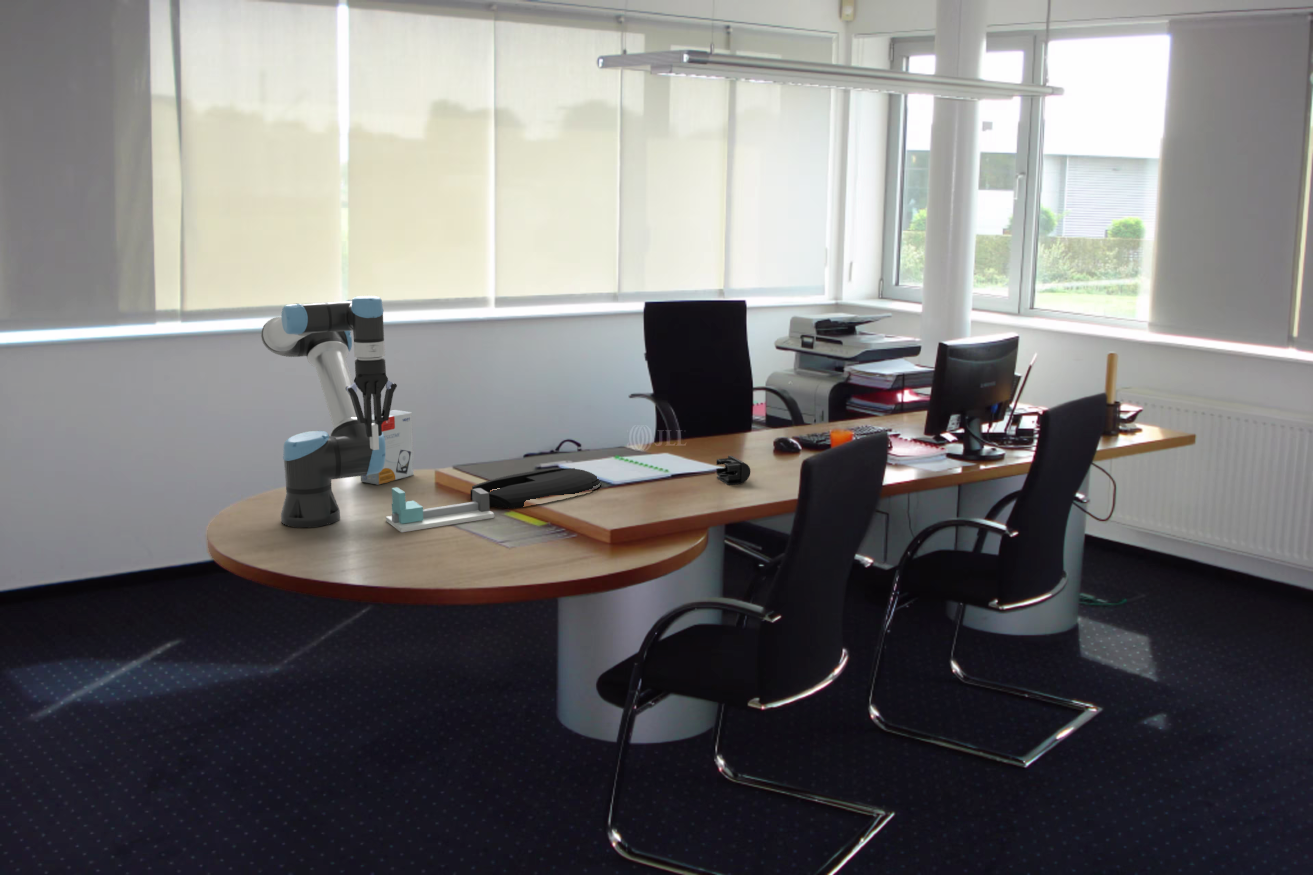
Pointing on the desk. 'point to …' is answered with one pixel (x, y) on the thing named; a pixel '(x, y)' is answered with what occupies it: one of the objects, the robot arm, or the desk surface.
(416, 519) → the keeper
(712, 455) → the desk surface
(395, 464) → the hard drive box
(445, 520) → the rail board
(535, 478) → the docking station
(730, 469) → the black plastic connector
